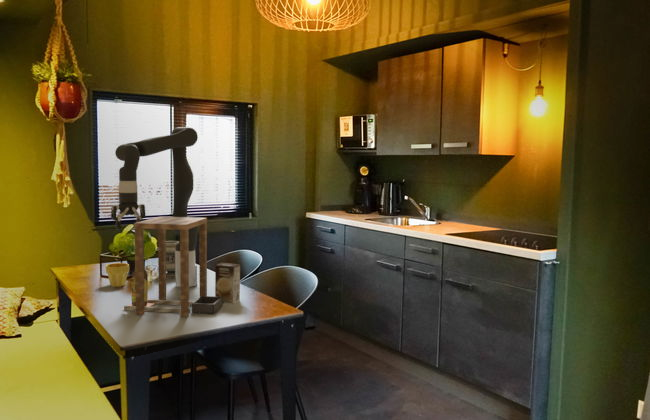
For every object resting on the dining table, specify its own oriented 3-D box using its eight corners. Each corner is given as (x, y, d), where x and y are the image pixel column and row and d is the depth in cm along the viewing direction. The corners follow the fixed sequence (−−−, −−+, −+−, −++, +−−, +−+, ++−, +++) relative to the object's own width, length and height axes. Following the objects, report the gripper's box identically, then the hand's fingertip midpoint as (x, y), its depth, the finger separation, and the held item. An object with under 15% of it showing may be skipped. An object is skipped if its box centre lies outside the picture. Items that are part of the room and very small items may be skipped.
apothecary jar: (154, 276, 282) (153, 242, 281) (171, 272, 293) (171, 239, 291) (170, 279, 276) (170, 244, 274) (188, 275, 286) (188, 241, 285)
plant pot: (118, 288, 256) (118, 267, 255) (101, 286, 260) (100, 265, 259) (134, 284, 266) (133, 264, 265) (117, 281, 270) (116, 262, 269)
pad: (124, 309, 222) (124, 308, 222) (135, 302, 232) (134, 301, 232) (145, 310, 221) (145, 309, 221) (155, 303, 231) (155, 302, 231)
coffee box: (214, 301, 236) (214, 264, 234) (221, 298, 242) (221, 262, 240) (233, 304, 233) (233, 266, 231) (240, 300, 239) (240, 264, 237)
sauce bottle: (128, 307, 224) (128, 258, 222) (136, 303, 230) (135, 255, 228) (143, 307, 223) (143, 259, 221) (150, 303, 229) (150, 256, 227)
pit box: (191, 313, 218) (191, 303, 218) (201, 305, 230) (201, 295, 230) (213, 314, 217) (213, 304, 217) (222, 306, 229) (222, 296, 229)
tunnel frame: (116, 314, 214) (114, 222, 211) (143, 298, 239) (142, 215, 236) (186, 317, 212) (186, 224, 208) (207, 301, 236) (207, 217, 233)
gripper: (115, 192, 228) (116, 231, 230) (147, 191, 238) (148, 228, 240) (108, 191, 234) (108, 229, 235) (140, 190, 243) (140, 227, 245)
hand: (128, 229), depth 237 cm, fingers open, 8 cm apart
